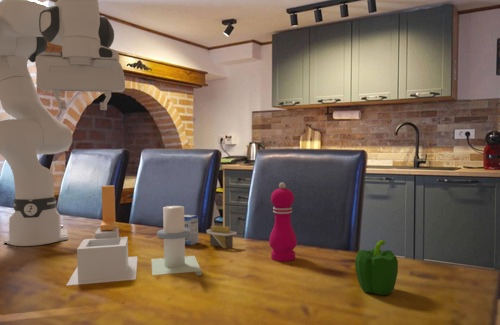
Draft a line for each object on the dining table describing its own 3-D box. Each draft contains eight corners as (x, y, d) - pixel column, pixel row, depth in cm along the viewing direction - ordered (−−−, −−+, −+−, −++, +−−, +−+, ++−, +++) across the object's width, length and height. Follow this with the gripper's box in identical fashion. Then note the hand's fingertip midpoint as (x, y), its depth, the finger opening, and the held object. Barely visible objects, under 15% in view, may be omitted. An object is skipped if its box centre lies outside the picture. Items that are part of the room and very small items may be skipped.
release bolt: (103, 224, 109) (102, 185, 108) (115, 223, 110) (114, 185, 109) (100, 230, 101) (99, 188, 101) (113, 229, 102) (112, 188, 101)
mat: (151, 262, 106) (151, 259, 106) (194, 259, 108) (194, 255, 108) (152, 279, 92) (152, 275, 92) (201, 275, 95) (201, 270, 95)
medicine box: (169, 243, 128) (168, 215, 127) (177, 240, 132) (177, 213, 131) (190, 245, 124) (190, 217, 124) (198, 242, 128) (198, 214, 128)
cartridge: (157, 261, 103) (156, 205, 103) (189, 259, 105) (188, 204, 105) (158, 270, 95) (157, 210, 95) (193, 267, 97) (192, 208, 97)
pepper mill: (300, 256, 110) (299, 181, 109) (291, 263, 103) (290, 183, 103) (275, 253, 113) (274, 181, 112) (265, 260, 106) (264, 183, 106)
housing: (80, 264, 105) (79, 228, 105) (137, 260, 109) (136, 225, 108) (66, 290, 86) (64, 246, 86) (135, 283, 89) (134, 241, 89)
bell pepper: (374, 301, 77) (374, 248, 77) (347, 288, 85) (347, 239, 84) (409, 294, 80) (409, 243, 80) (380, 282, 88) (379, 235, 88)
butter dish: (235, 256, 112) (234, 232, 112) (182, 249, 121) (182, 227, 121) (256, 247, 123) (255, 225, 123) (206, 241, 132) (206, 220, 131)
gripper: (31, 48, 96) (33, 108, 96) (123, 51, 101) (125, 108, 101) (38, 54, 102) (40, 110, 102) (125, 57, 107) (126, 111, 107)
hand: (83, 109), depth 102 cm, fingers open, 8 cm apart
